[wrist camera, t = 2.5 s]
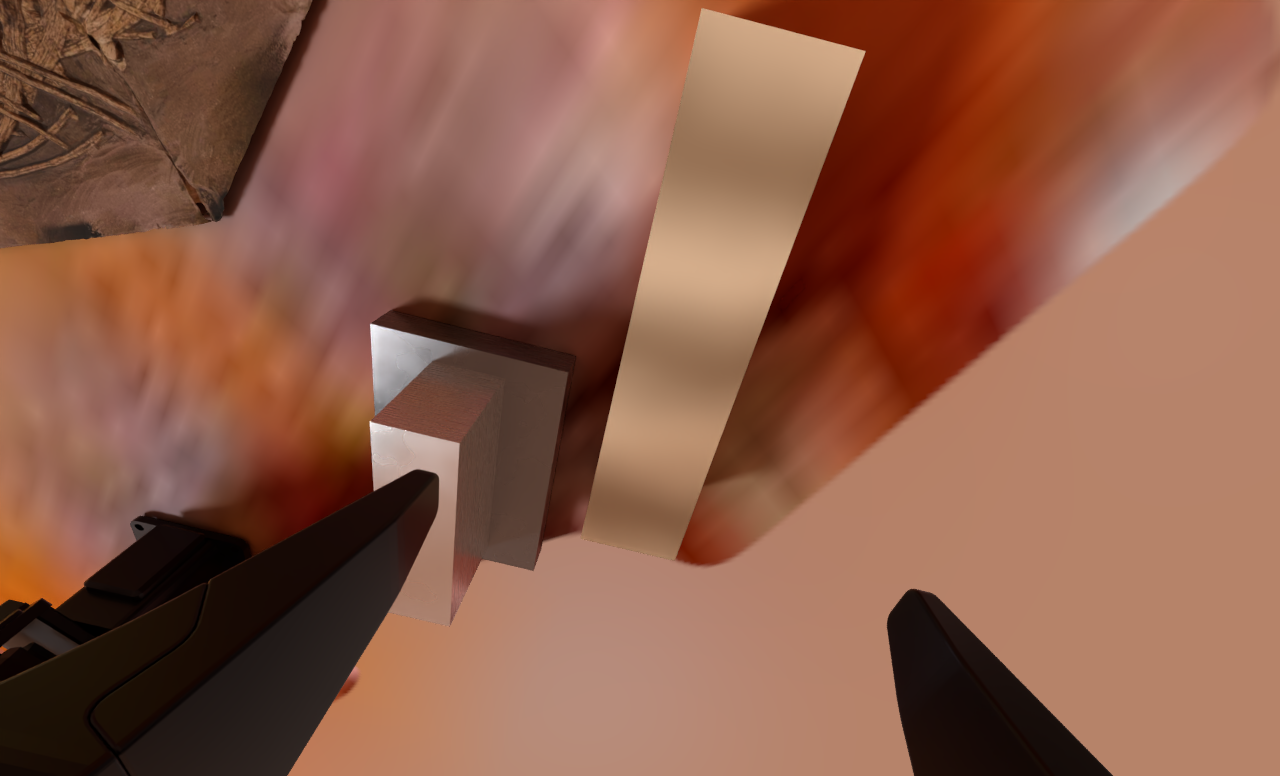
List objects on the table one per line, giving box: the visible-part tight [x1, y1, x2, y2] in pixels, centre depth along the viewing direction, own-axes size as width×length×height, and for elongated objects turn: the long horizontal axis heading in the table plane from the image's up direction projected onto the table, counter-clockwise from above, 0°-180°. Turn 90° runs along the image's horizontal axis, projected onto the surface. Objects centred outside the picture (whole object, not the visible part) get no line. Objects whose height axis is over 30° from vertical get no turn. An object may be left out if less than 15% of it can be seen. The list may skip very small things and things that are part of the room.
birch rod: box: [581, 8, 866, 561], centre depth 18 cm, size 18×4×4 cm, turn 168°
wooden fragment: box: [0, 0, 312, 248], centre depth 18 cm, size 26×11×1 cm, turn 111°
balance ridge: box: [370, 310, 576, 626], centre depth 22 cm, size 12×8×6 cm, turn 168°
